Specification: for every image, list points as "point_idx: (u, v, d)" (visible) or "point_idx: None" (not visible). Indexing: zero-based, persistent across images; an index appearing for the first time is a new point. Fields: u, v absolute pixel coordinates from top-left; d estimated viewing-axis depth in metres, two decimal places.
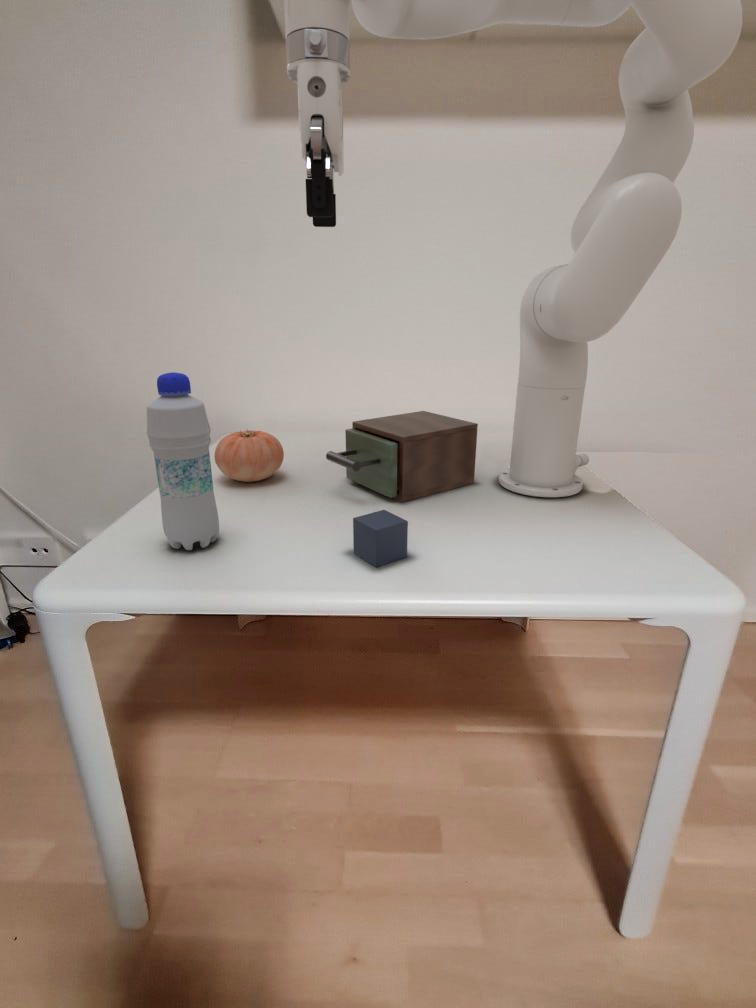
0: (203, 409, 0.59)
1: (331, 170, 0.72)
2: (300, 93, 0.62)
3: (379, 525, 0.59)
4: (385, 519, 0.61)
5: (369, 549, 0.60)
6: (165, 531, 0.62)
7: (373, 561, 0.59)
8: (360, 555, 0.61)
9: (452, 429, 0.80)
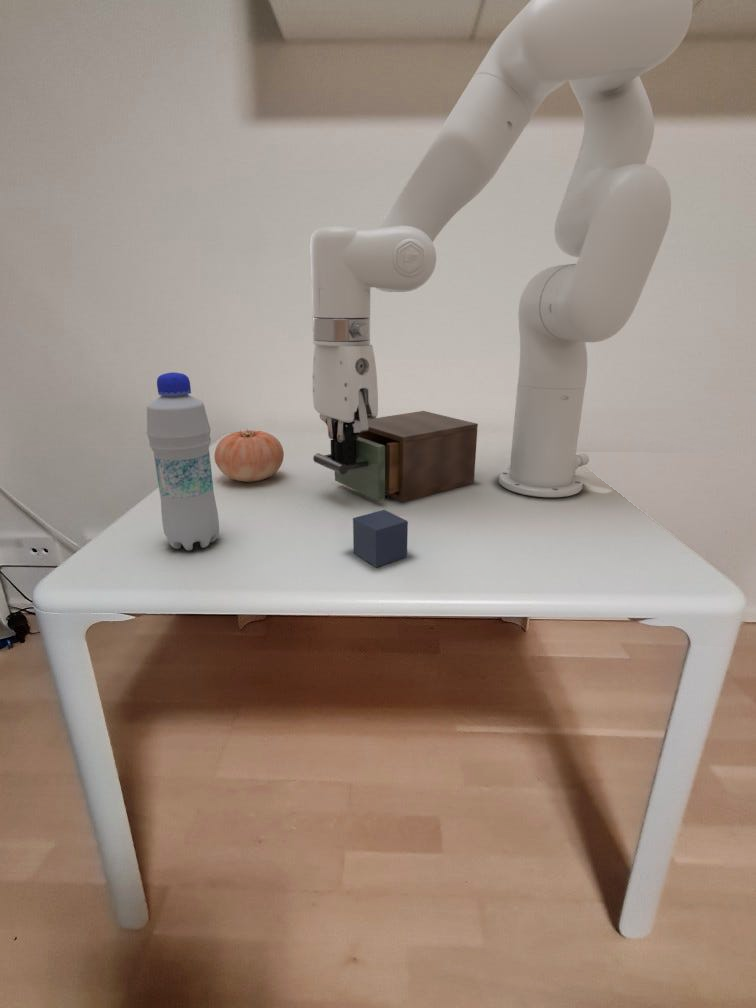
0: (203, 409, 0.59)
1: None
2: (348, 371, 0.69)
3: (379, 525, 0.59)
4: (385, 519, 0.61)
5: (369, 549, 0.60)
6: (165, 531, 0.62)
7: (373, 561, 0.59)
8: (360, 555, 0.61)
9: (452, 429, 0.80)
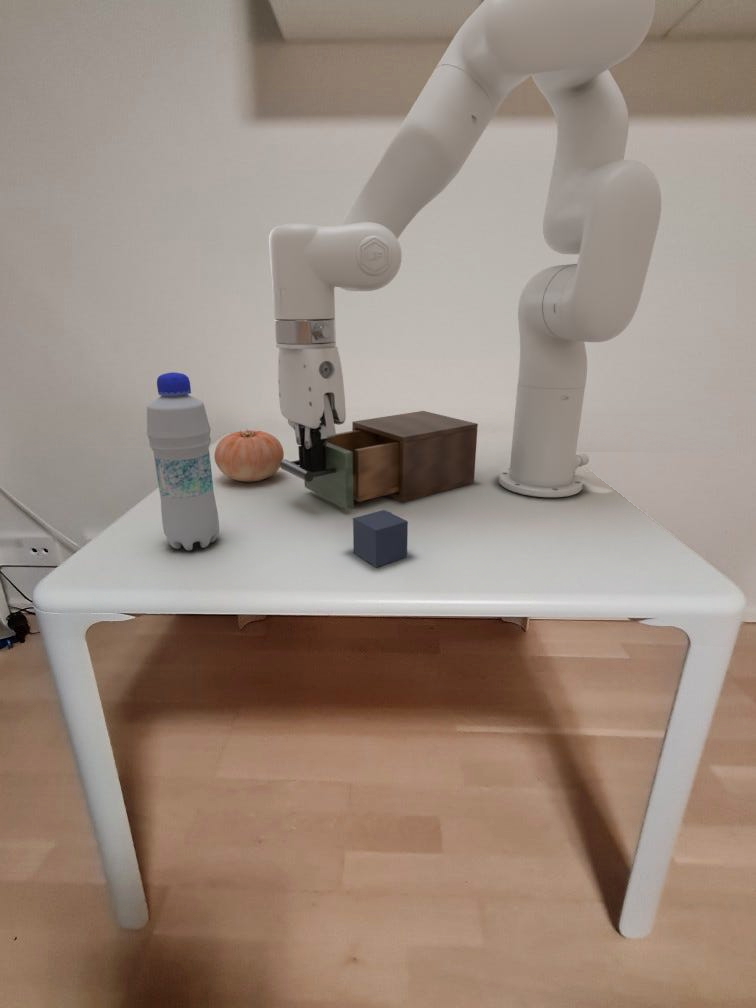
0: (203, 409, 0.59)
1: None
2: (312, 375, 0.66)
3: (379, 525, 0.59)
4: (385, 519, 0.61)
5: (369, 549, 0.60)
6: (165, 531, 0.62)
7: (373, 561, 0.59)
8: (360, 555, 0.61)
9: (452, 429, 0.80)
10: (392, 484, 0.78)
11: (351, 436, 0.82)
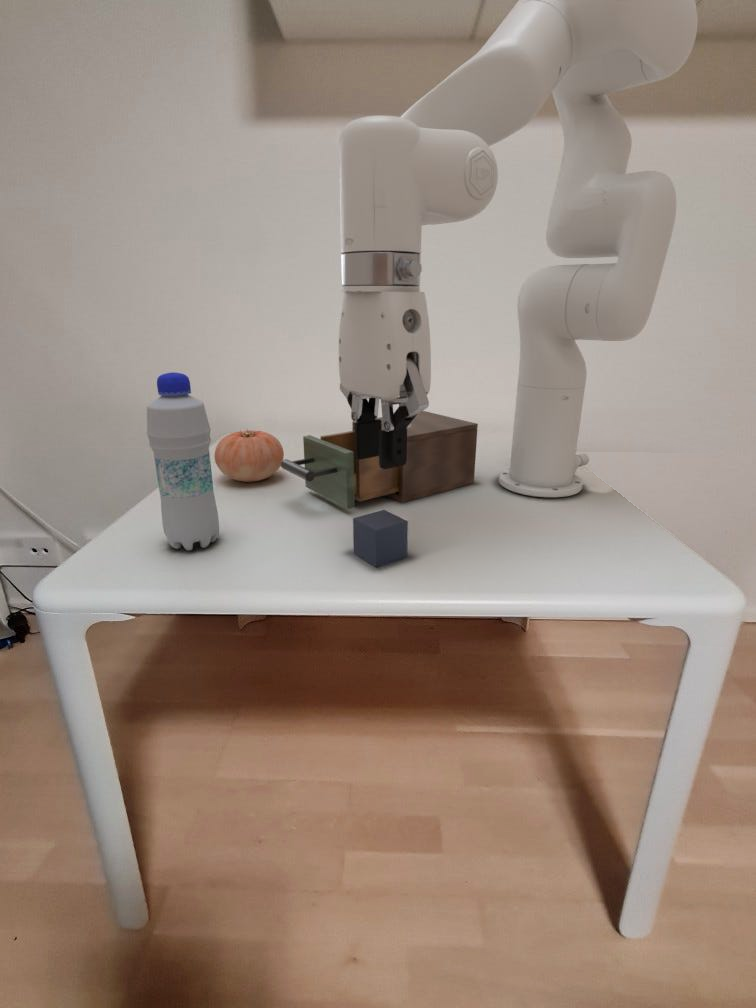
0: (203, 409, 0.59)
1: None
2: (393, 328, 0.49)
3: (379, 525, 0.59)
4: (385, 519, 0.61)
5: (369, 549, 0.60)
6: (165, 531, 0.62)
7: (373, 561, 0.59)
8: (360, 555, 0.61)
9: (452, 429, 0.80)
10: (393, 484, 0.78)
11: (352, 436, 0.82)
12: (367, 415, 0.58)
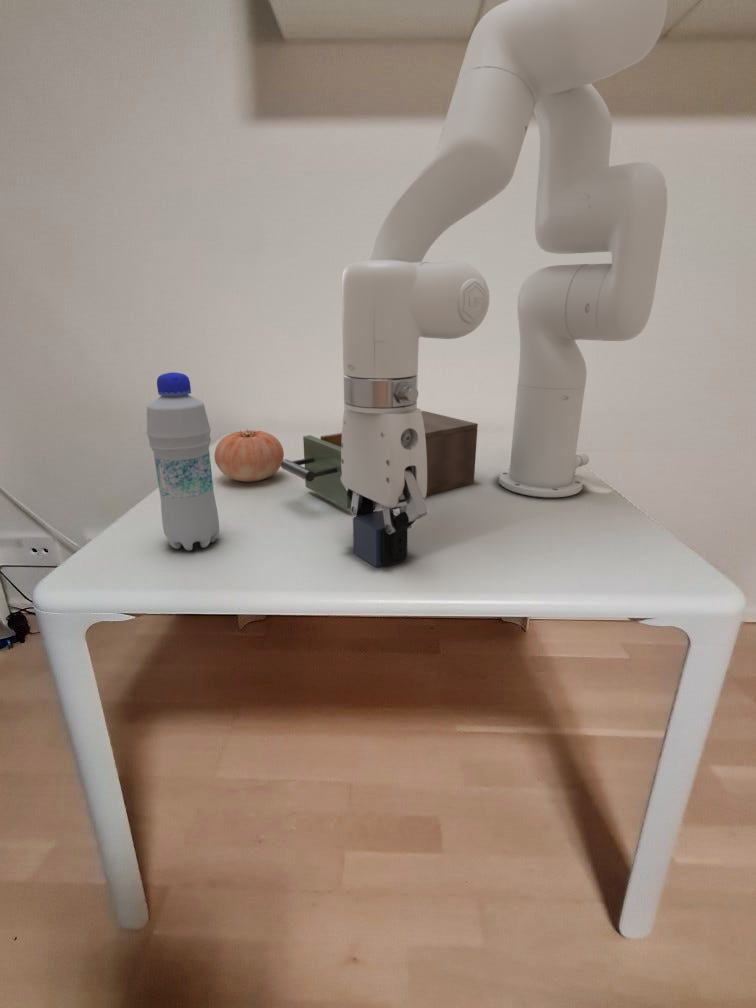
0: (203, 409, 0.59)
1: None
2: (392, 446, 0.53)
3: (379, 525, 0.59)
4: None
5: (369, 549, 0.60)
6: (165, 531, 0.62)
7: (373, 561, 0.59)
8: (360, 555, 0.61)
9: (452, 429, 0.80)
10: None
11: None
12: (366, 509, 0.62)
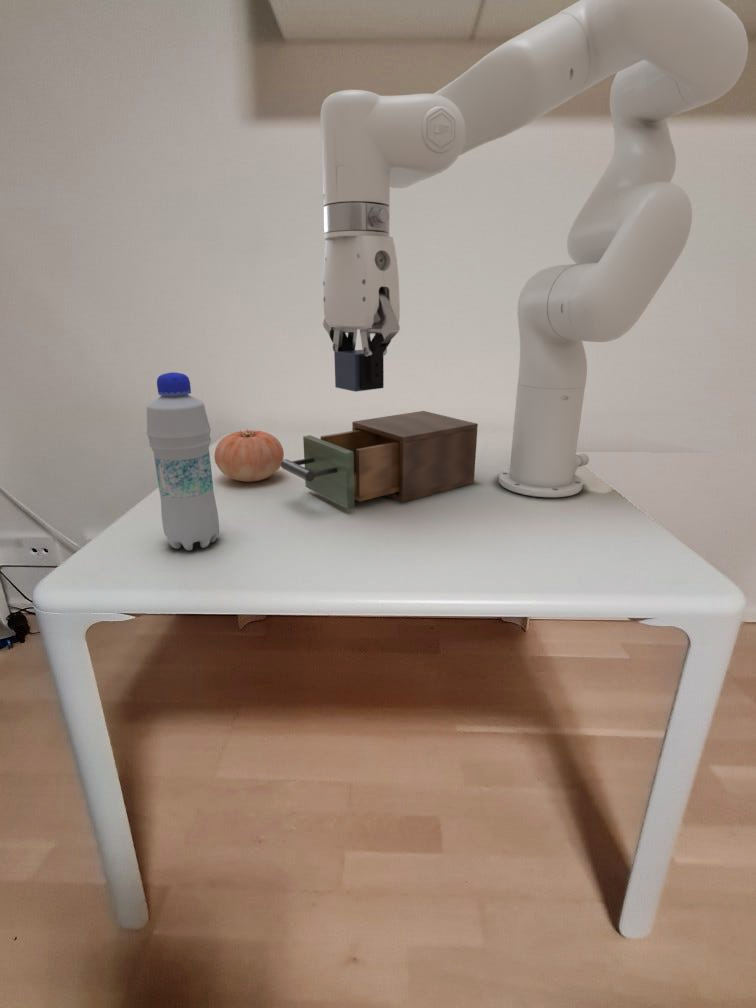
0: (203, 409, 0.59)
1: None
2: (367, 265, 0.60)
3: (357, 353, 0.66)
4: None
5: (349, 376, 0.66)
6: (165, 531, 0.62)
7: (352, 386, 0.66)
8: (341, 386, 0.68)
9: (452, 429, 0.80)
10: (393, 484, 0.78)
11: (352, 436, 0.82)
12: (346, 347, 0.69)
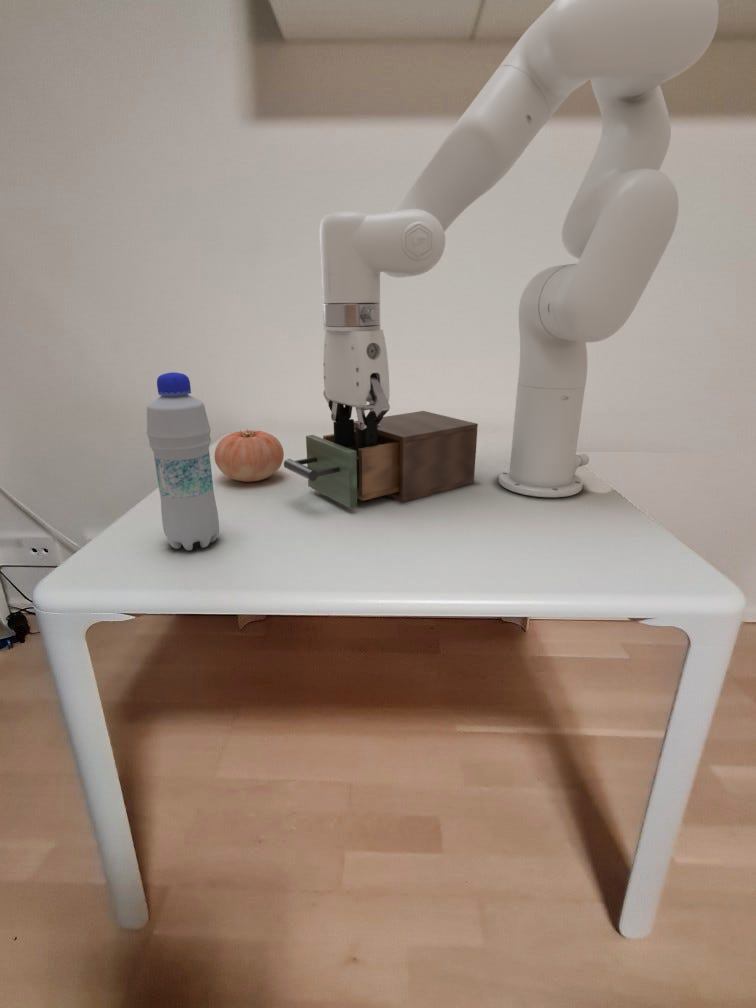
0: (203, 409, 0.59)
1: None
2: (360, 356, 0.69)
3: None
4: None
5: None
6: (165, 531, 0.62)
7: None
8: None
9: (452, 429, 0.80)
10: (395, 483, 0.78)
11: (354, 435, 0.83)
12: (343, 416, 0.79)
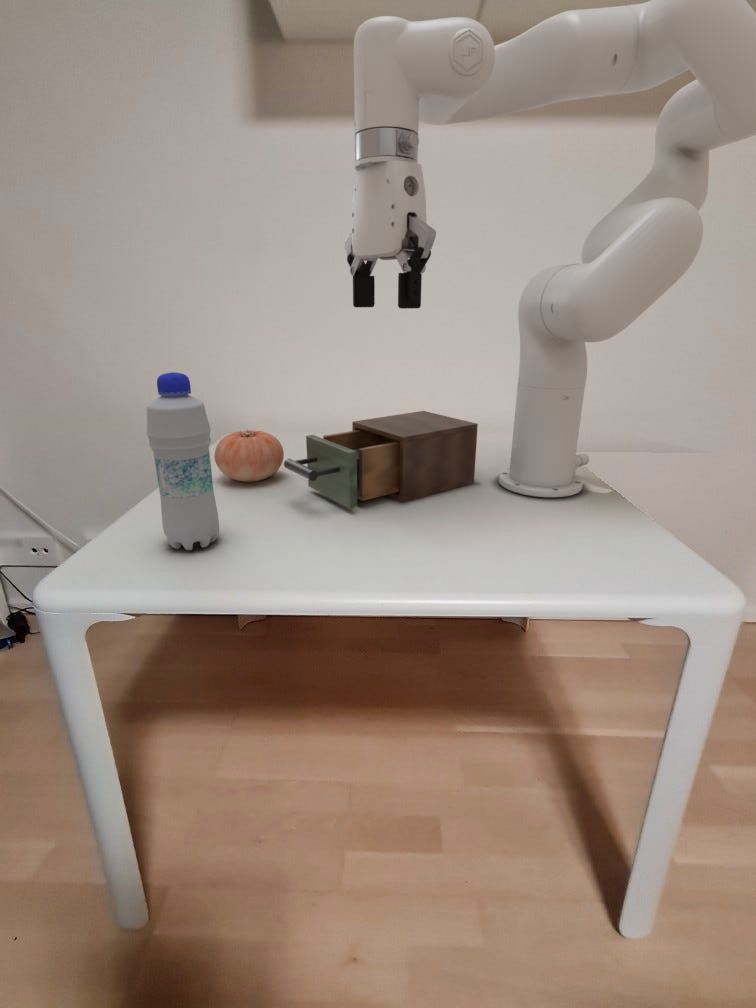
0: (203, 409, 0.59)
1: None
2: (396, 190, 0.62)
3: None
4: None
5: None
6: (165, 531, 0.62)
7: None
8: None
9: (452, 429, 0.80)
10: (395, 483, 0.78)
11: (354, 435, 0.83)
12: (363, 270, 0.73)
